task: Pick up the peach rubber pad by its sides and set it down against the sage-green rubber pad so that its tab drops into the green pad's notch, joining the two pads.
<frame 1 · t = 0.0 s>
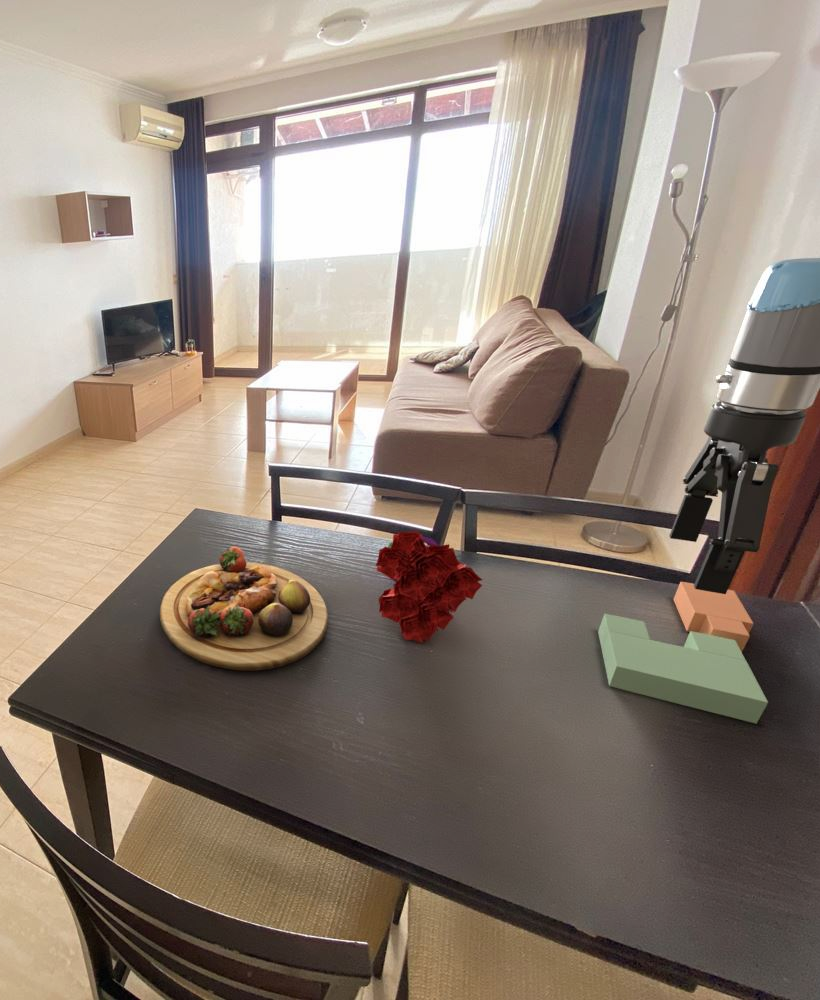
hand: (694, 562, 71), 23 cm above the table, tool pointing down, fingers open, 13 cm apart
peach pad: (706, 620, 93), on the table
green pad: (668, 672, 83), on the table
wooden plate: (241, 615, 105), on the table
bouquet: (407, 594, 107), on the table
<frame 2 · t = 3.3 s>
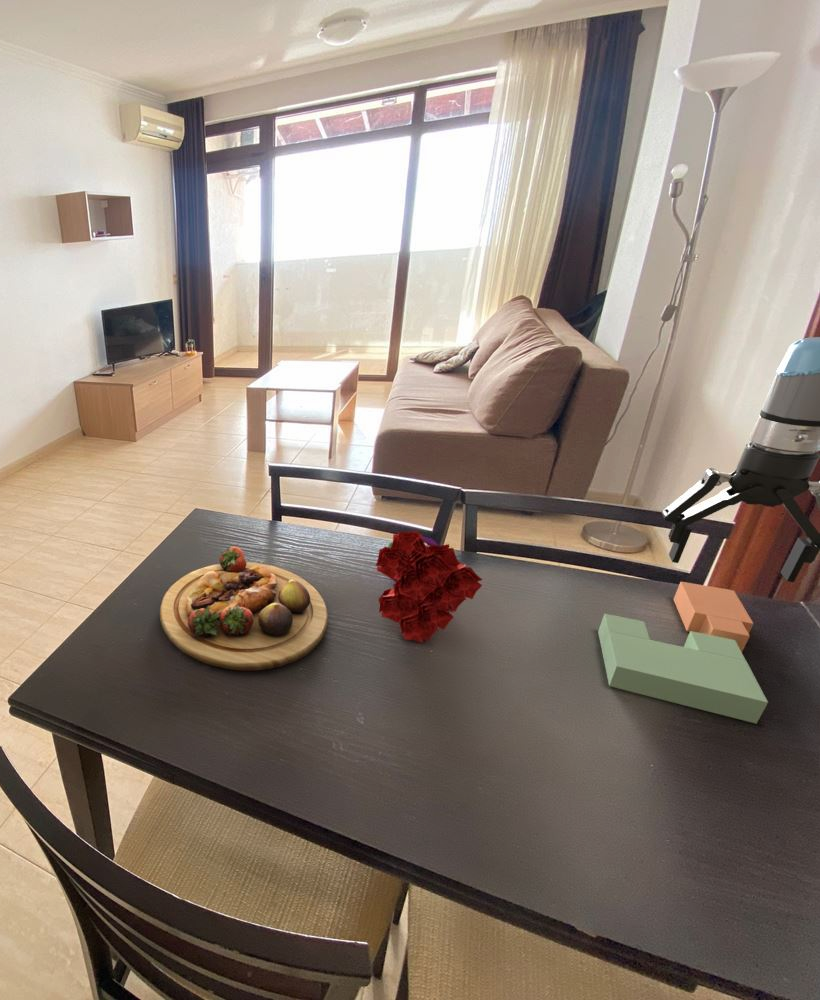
hand: (727, 568, 89), 11 cm above the table, tool pointing down, fingers open, 13 cm apart
nothing on the table moved.
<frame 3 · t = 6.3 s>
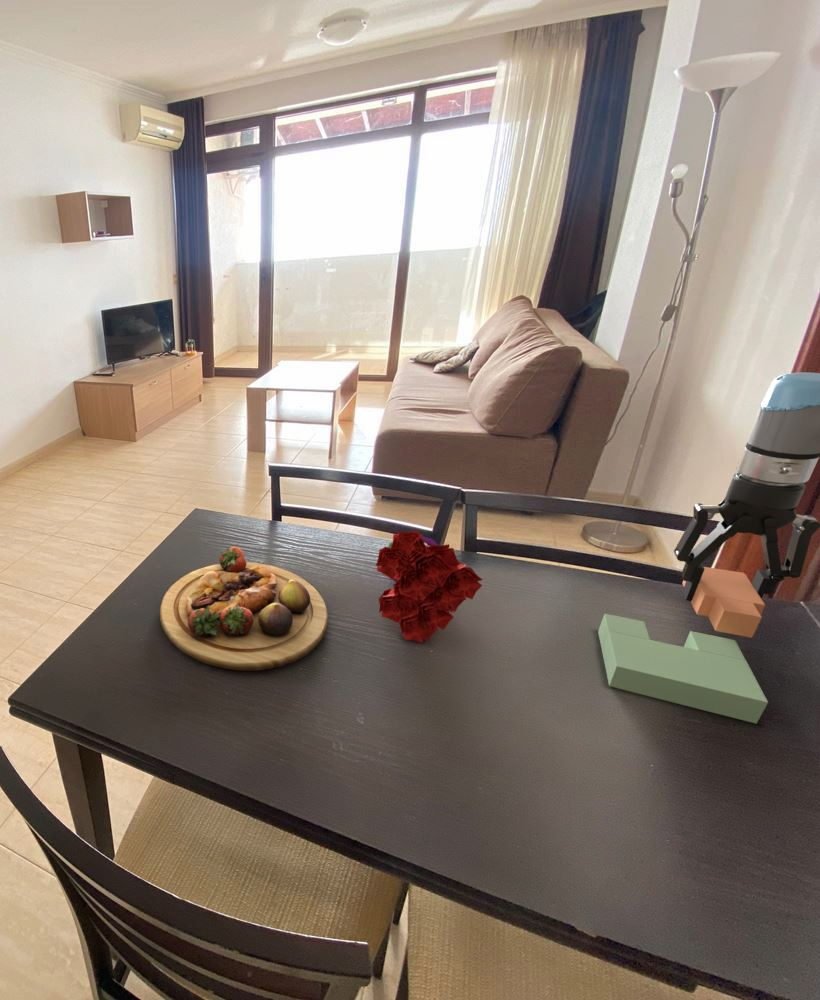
hand: (717, 601, 91), 4 cm above the table, tool pointing down, fingers closed on peach pad, 7 cm apart
peach pad: (716, 603, 91), point 4 cm above the table, touching gripper
everything else where it was.
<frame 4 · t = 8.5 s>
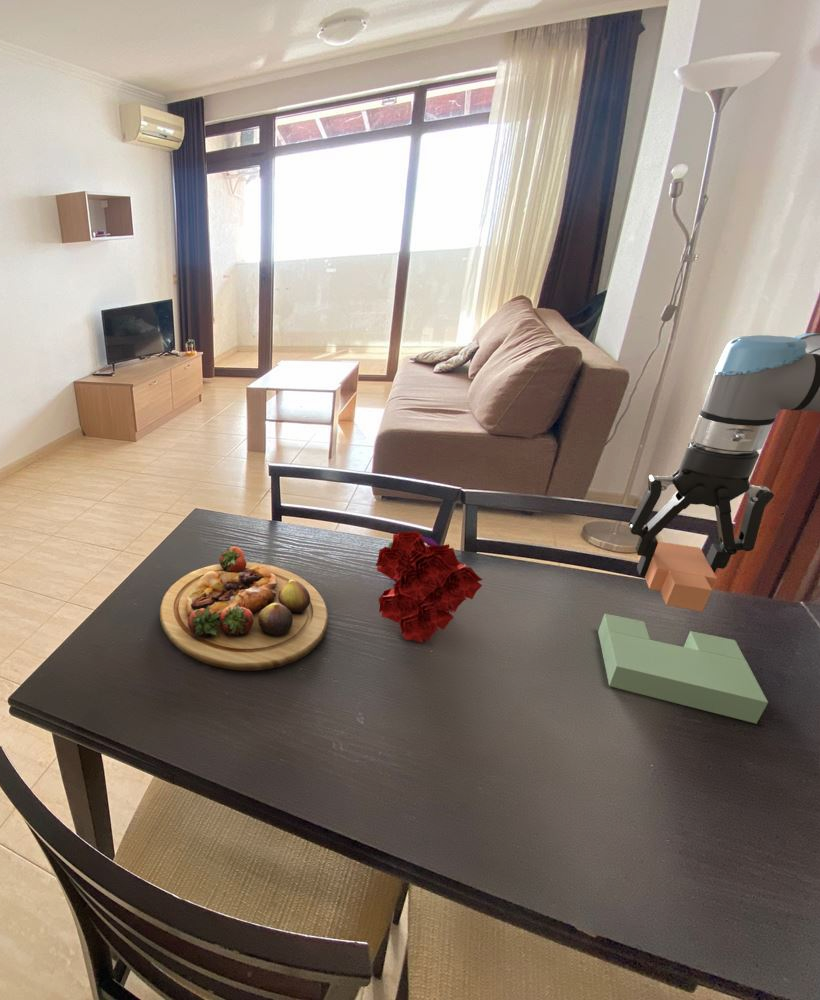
hand: (671, 576, 89), 10 cm above the table, tool pointing down, fingers closed on peach pad, 7 cm apart
peach pad: (670, 578, 89), point 10 cm above the table, touching gripper
everything else where it was.
when the fingers open (0 cm above the table, at t = 10.9 s): peach pad stays where it is, on the table.
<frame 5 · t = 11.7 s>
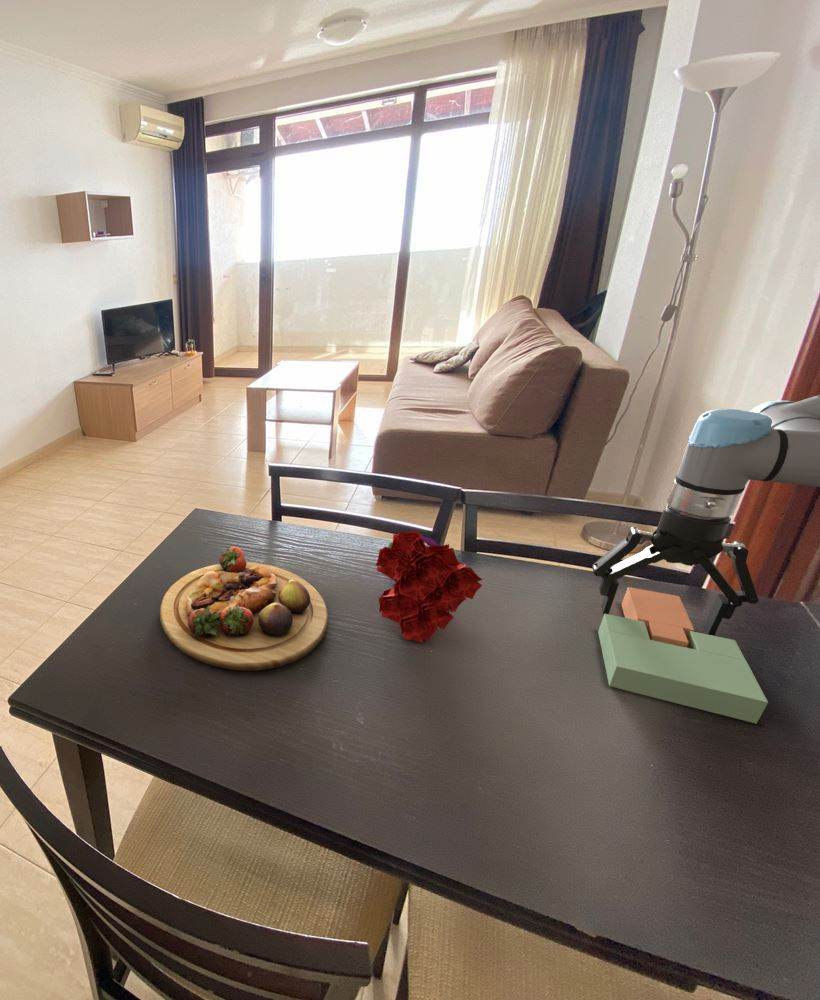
hand: (654, 620, 92), 1 cm above the table, tool pointing down, fingers open, 13 cm apart
peach pad: (651, 625, 93), on the table
everything else where it was.
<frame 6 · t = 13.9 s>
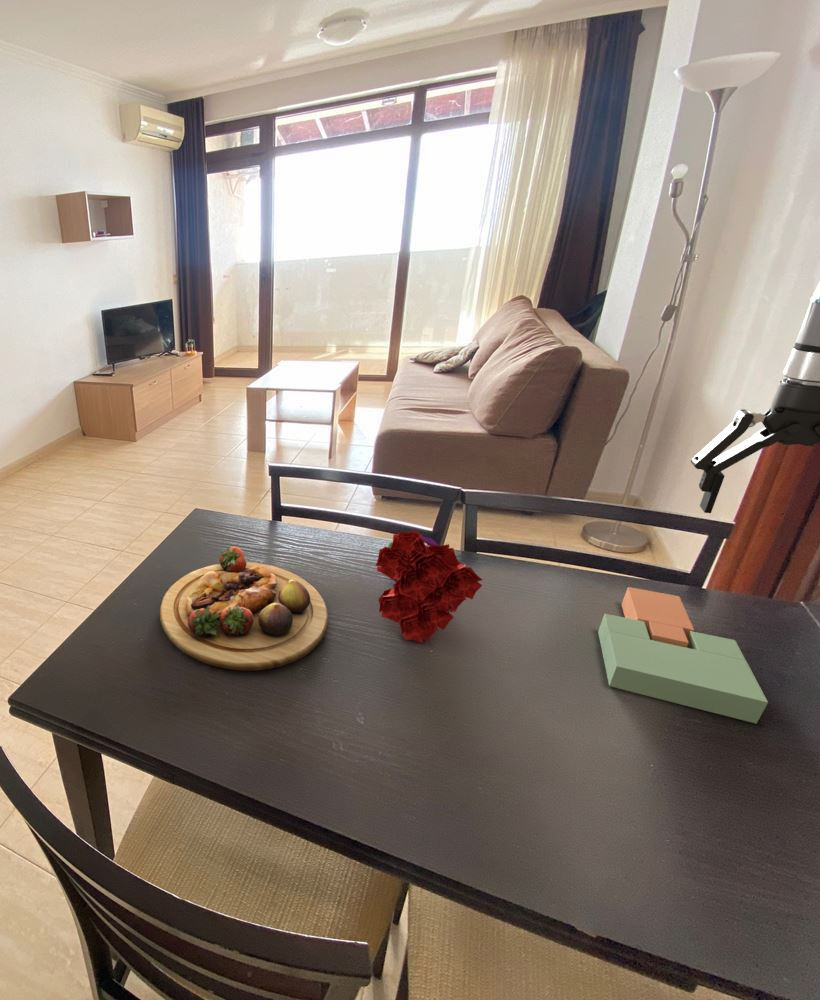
hand: (764, 515, 84), 20 cm above the table, tool pointing down, fingers open, 13 cm apart
nothing on the table moved.
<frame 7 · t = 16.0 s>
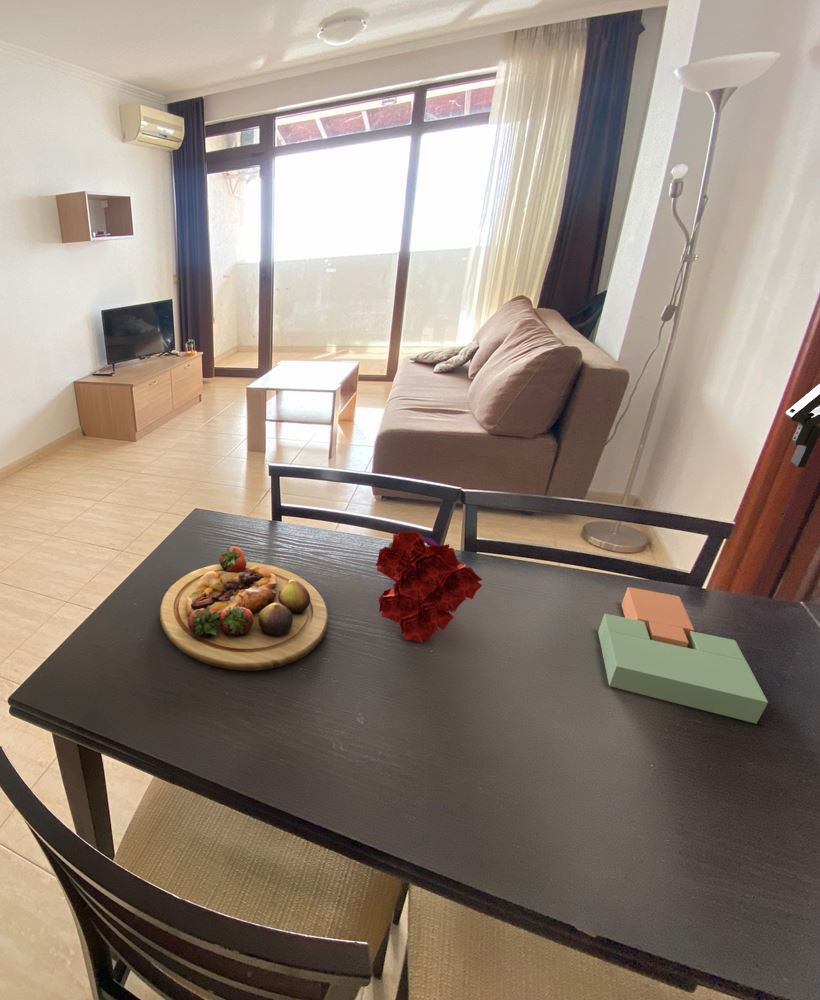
nothing on the table moved.
at the end: peach pad 0.3 cm from the target spot on the table beside the green pad, on the table; peach pad tilted 0°; the gripper is holding nothing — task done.
